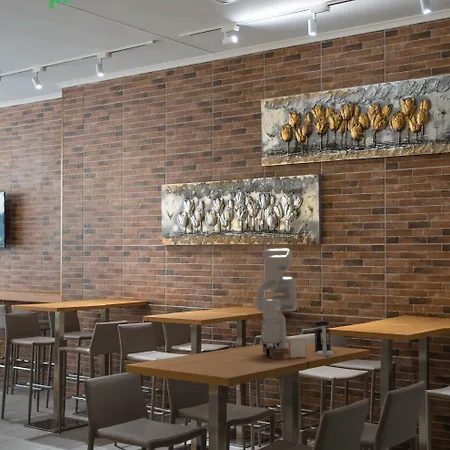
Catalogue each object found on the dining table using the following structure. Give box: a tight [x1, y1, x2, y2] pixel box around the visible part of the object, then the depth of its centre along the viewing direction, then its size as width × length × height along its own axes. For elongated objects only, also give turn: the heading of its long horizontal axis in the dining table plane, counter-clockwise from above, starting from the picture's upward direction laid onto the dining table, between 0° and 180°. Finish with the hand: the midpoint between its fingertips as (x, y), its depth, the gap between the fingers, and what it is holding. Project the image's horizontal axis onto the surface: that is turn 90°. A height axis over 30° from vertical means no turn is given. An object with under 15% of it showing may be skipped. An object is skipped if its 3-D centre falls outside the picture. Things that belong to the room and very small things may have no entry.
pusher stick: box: [262, 344, 284, 361], centre depth 409 cm, size 23×6×4 cm, turn 14°
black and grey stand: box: [315, 326, 335, 357], centre depth 411 cm, size 10×10×15 cm
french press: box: [313, 310, 332, 353], centre depth 428 cm, size 12×9×23 cm
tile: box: [288, 337, 307, 359], centre depth 404 cm, size 2×9×10 cm, turn 104°
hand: (271, 355), depth 409 cm, fingers closed on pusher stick, 2 cm apart
